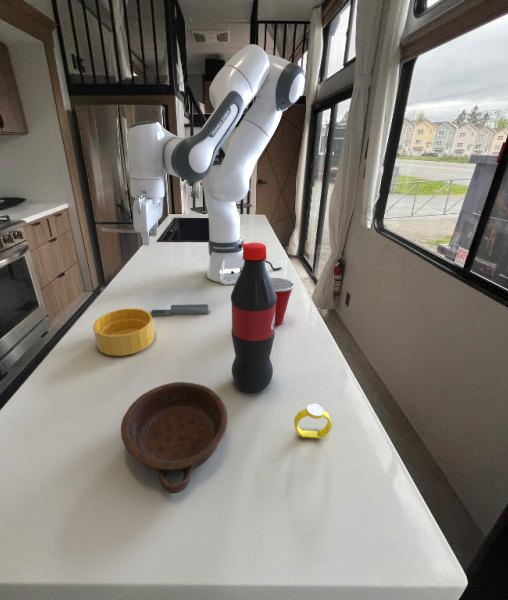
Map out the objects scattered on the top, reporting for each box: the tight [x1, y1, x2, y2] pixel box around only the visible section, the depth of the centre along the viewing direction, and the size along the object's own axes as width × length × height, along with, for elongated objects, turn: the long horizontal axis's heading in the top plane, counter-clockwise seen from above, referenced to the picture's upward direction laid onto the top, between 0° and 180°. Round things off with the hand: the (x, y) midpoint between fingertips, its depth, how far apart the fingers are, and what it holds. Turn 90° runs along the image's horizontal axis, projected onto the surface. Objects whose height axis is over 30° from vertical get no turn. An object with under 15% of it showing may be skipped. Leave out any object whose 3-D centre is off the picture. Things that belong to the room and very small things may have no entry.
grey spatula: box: [150, 303, 209, 317], centre depth 97 cm, size 17×3×2 cm, turn 90°
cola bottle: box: [230, 242, 277, 393], centre depth 62 cm, size 8×8×30 cm
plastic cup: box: [270, 276, 295, 327], centre depth 89 cm, size 11×11×12 cm
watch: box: [293, 403, 333, 440], centre depth 54 cm, size 6×3×6 cm, turn 87°
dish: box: [120, 381, 229, 495], centre depth 55 cm, size 18×22×5 cm
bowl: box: [92, 307, 155, 357], centre depth 82 cm, size 14×14×6 cm
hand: (150, 240), depth 92 cm, fingers open, 8 cm apart
